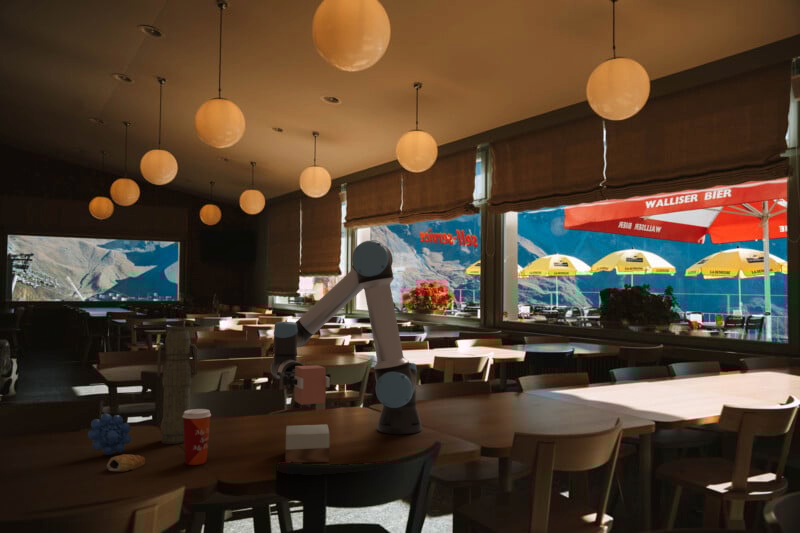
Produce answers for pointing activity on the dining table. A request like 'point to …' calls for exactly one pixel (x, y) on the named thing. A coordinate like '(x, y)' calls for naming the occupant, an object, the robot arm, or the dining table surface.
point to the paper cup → (196, 435)
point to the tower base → (307, 455)
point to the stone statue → (176, 383)
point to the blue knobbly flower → (109, 434)
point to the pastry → (125, 462)
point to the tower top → (307, 437)
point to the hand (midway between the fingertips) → (315, 383)
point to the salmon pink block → (310, 384)
